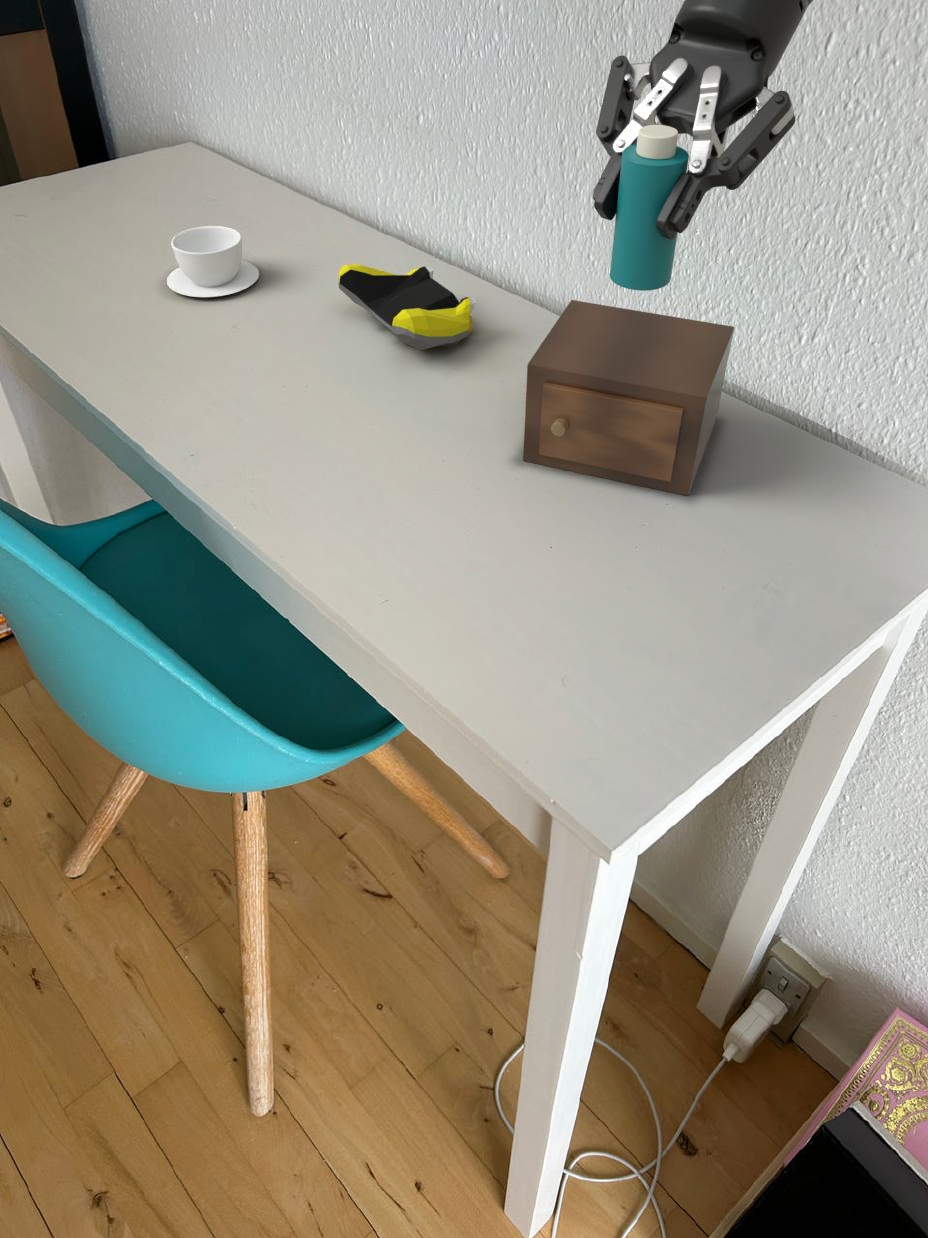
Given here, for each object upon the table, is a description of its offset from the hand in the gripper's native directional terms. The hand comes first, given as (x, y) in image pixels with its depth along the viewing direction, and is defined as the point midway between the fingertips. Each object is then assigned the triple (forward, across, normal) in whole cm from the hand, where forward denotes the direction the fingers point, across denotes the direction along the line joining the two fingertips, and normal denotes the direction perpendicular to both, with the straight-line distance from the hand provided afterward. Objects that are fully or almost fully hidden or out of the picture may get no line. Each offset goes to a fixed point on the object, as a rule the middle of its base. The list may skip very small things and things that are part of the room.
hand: (633, 222), depth 67 cm
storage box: (+11, -1, +18) cm, 21 cm away
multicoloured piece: (+9, -29, +20) cm, 37 cm away
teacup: (+14, -54, +16) cm, 58 cm away
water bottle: (+2, 0, +5) cm, 5 cm away
